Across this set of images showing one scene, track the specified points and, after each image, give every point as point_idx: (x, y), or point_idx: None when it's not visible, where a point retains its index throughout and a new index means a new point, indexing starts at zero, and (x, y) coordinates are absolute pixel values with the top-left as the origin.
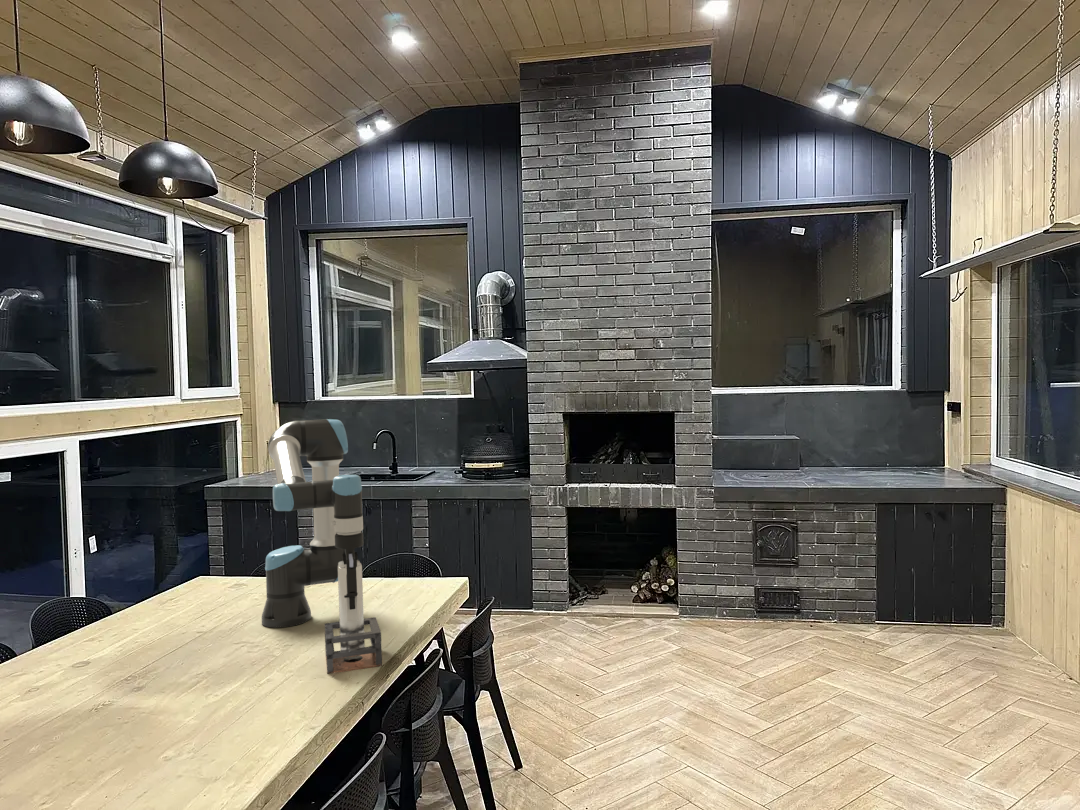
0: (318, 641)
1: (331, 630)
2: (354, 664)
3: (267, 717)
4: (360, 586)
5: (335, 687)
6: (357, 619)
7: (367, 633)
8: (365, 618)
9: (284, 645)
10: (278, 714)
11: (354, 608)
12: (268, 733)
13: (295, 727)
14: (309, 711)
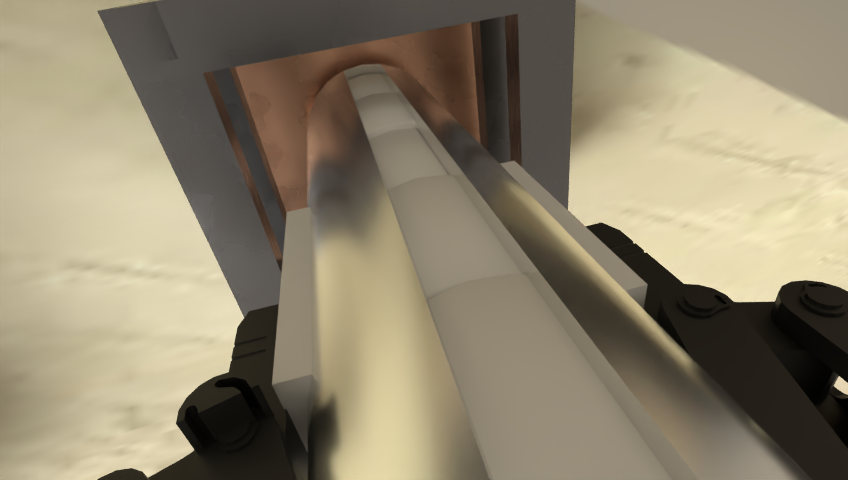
0: (67, 329)
1: None
2: (446, 103)
3: (737, 288)
4: (660, 340)
5: (637, 147)
6: (517, 165)
7: (556, 52)
8: (149, 114)
9: (136, 428)
10: (736, 268)
11: (609, 231)
12: (824, 259)
13: (839, 206)
14: (770, 193)
